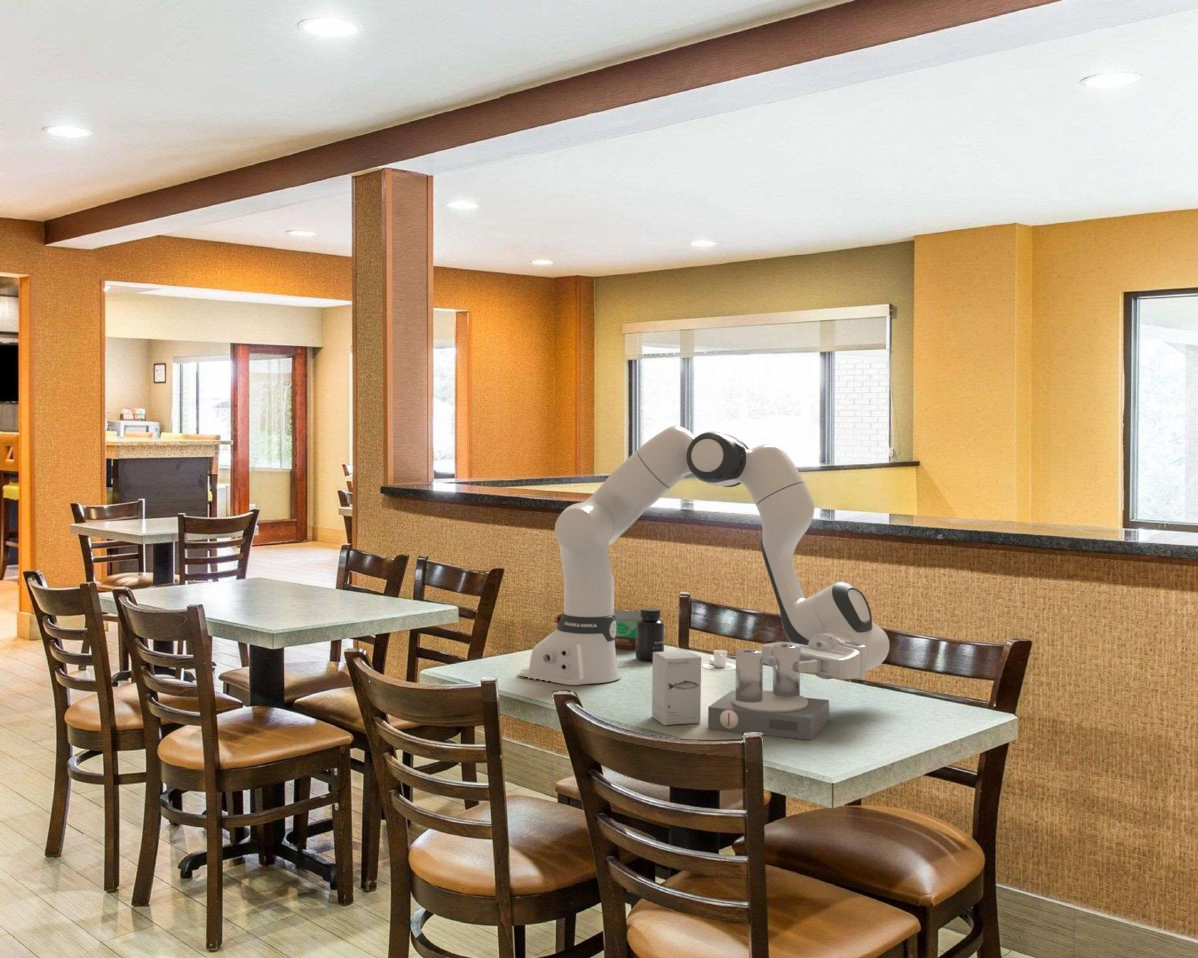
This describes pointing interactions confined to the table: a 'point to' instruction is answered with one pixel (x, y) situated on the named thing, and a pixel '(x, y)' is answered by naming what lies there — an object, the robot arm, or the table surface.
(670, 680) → the supplement box
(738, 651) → the cylinder
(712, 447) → the robot arm
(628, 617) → the food container
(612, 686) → the table surface
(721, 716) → the dial scale
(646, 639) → the supplement bottle
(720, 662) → the teacup and saucer
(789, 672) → the cylinder
